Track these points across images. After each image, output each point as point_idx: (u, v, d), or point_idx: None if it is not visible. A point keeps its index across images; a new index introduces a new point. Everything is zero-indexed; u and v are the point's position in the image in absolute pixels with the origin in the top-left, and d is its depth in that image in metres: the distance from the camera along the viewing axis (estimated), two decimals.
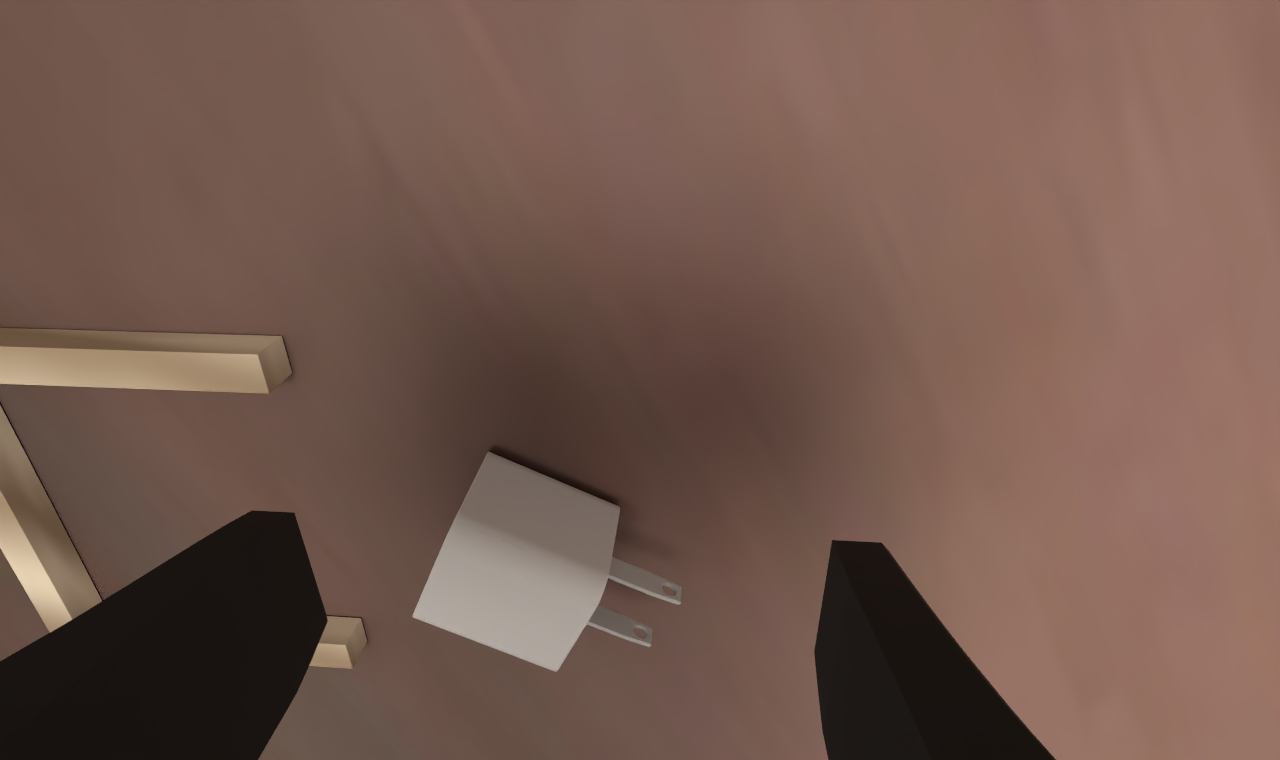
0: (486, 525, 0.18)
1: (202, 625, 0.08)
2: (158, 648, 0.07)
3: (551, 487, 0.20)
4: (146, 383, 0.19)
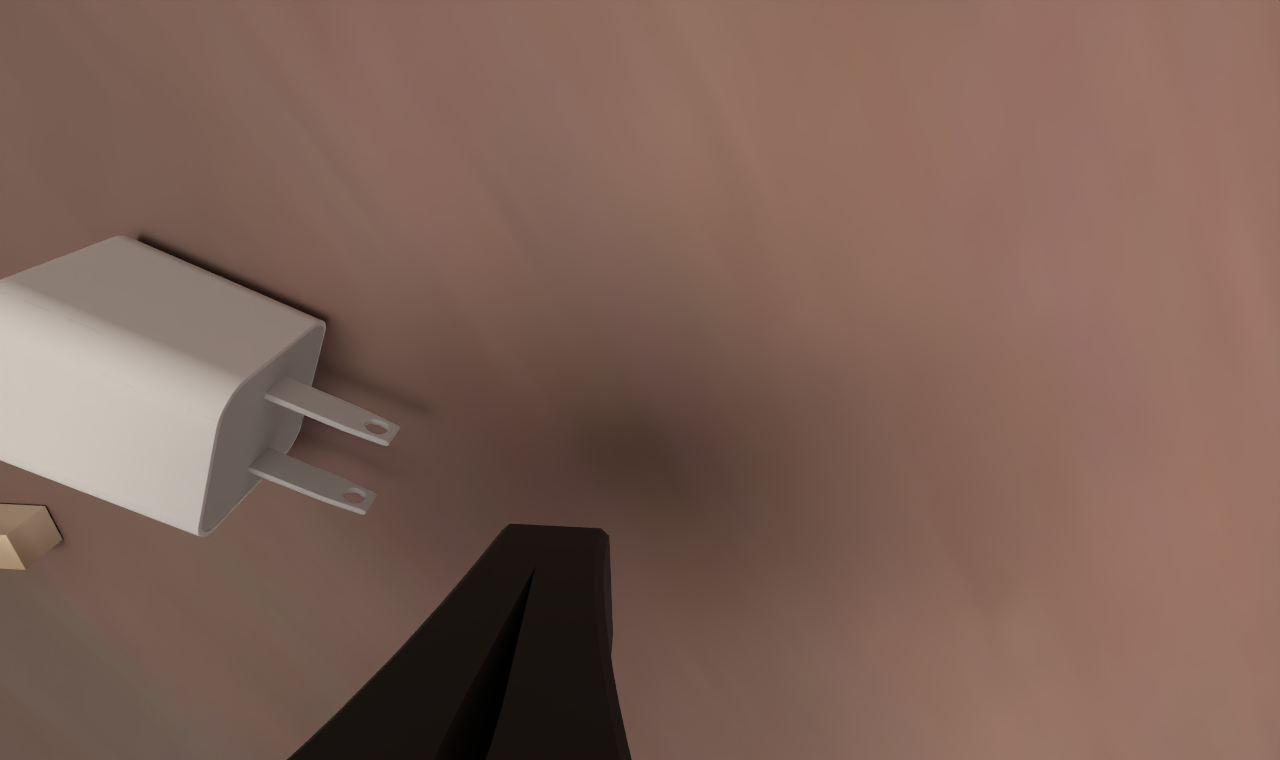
0: (50, 300, 0.12)
1: (514, 646, 0.07)
2: (495, 671, 0.07)
3: (210, 282, 0.14)
4: None
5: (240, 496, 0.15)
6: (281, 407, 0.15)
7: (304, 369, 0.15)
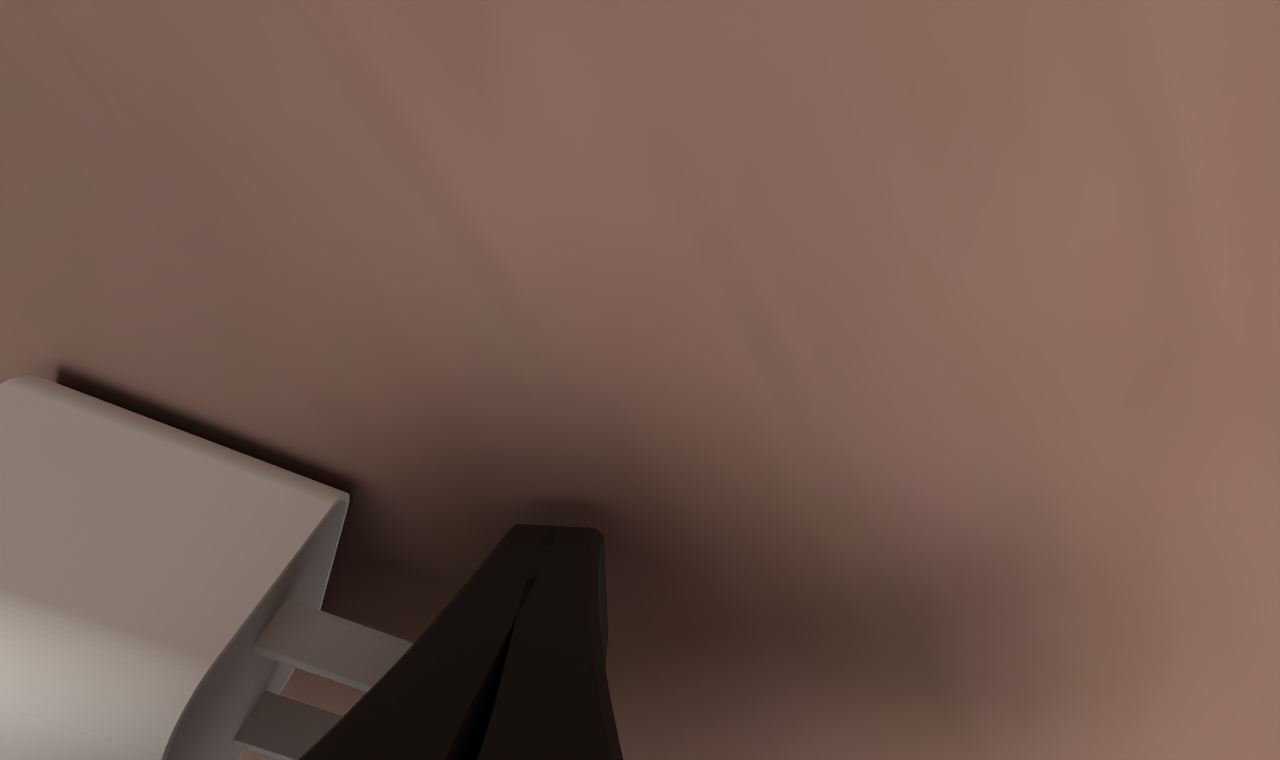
0: None
1: None
2: None
3: (161, 451, 0.09)
4: None
5: None
6: None
7: (317, 566, 0.10)
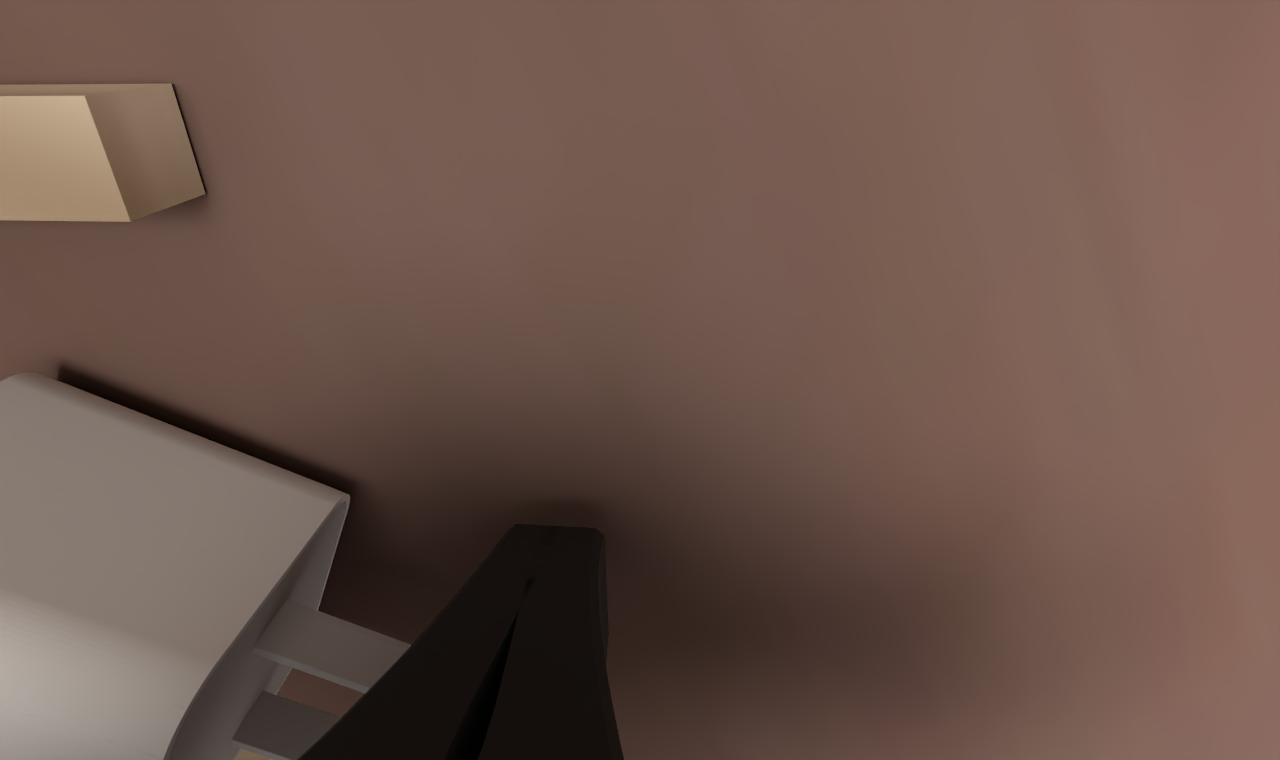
0: None
1: None
2: (504, 672, 0.07)
3: (163, 450, 0.09)
4: None
5: None
6: None
7: (317, 567, 0.10)
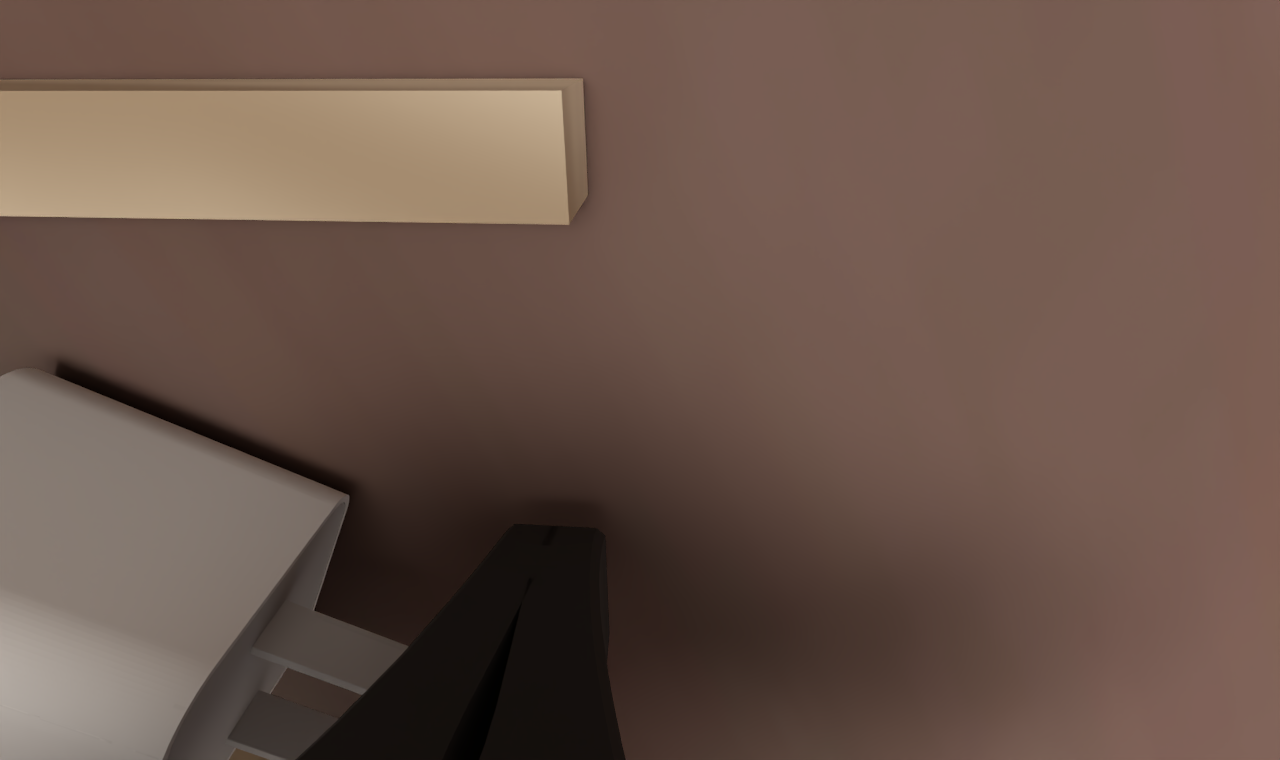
0: None
1: None
2: (502, 672, 0.07)
3: (163, 448, 0.09)
4: (215, 200, 0.07)
5: None
6: None
7: (315, 567, 0.10)
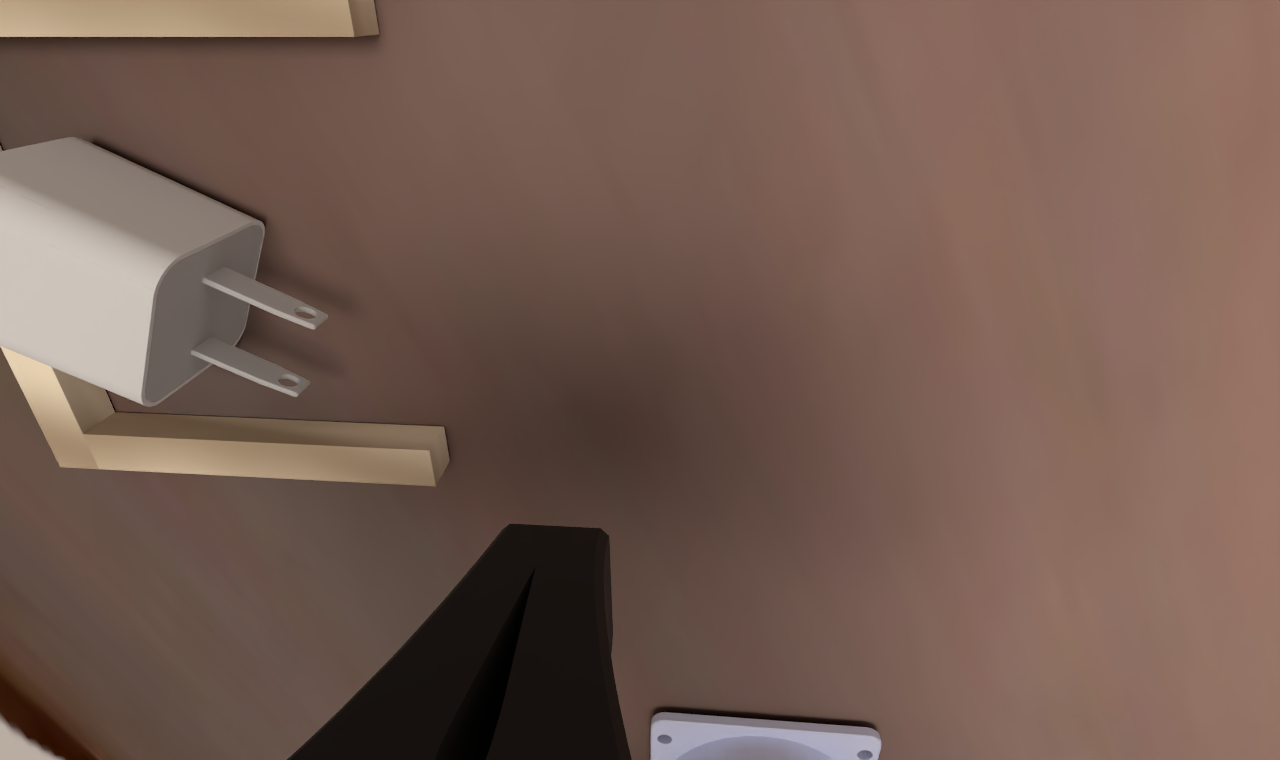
0: (5, 180, 0.14)
1: (514, 645, 0.07)
2: (496, 671, 0.07)
3: (156, 181, 0.16)
4: (184, 26, 0.14)
5: (184, 377, 0.17)
6: (222, 298, 0.17)
7: (244, 266, 0.17)
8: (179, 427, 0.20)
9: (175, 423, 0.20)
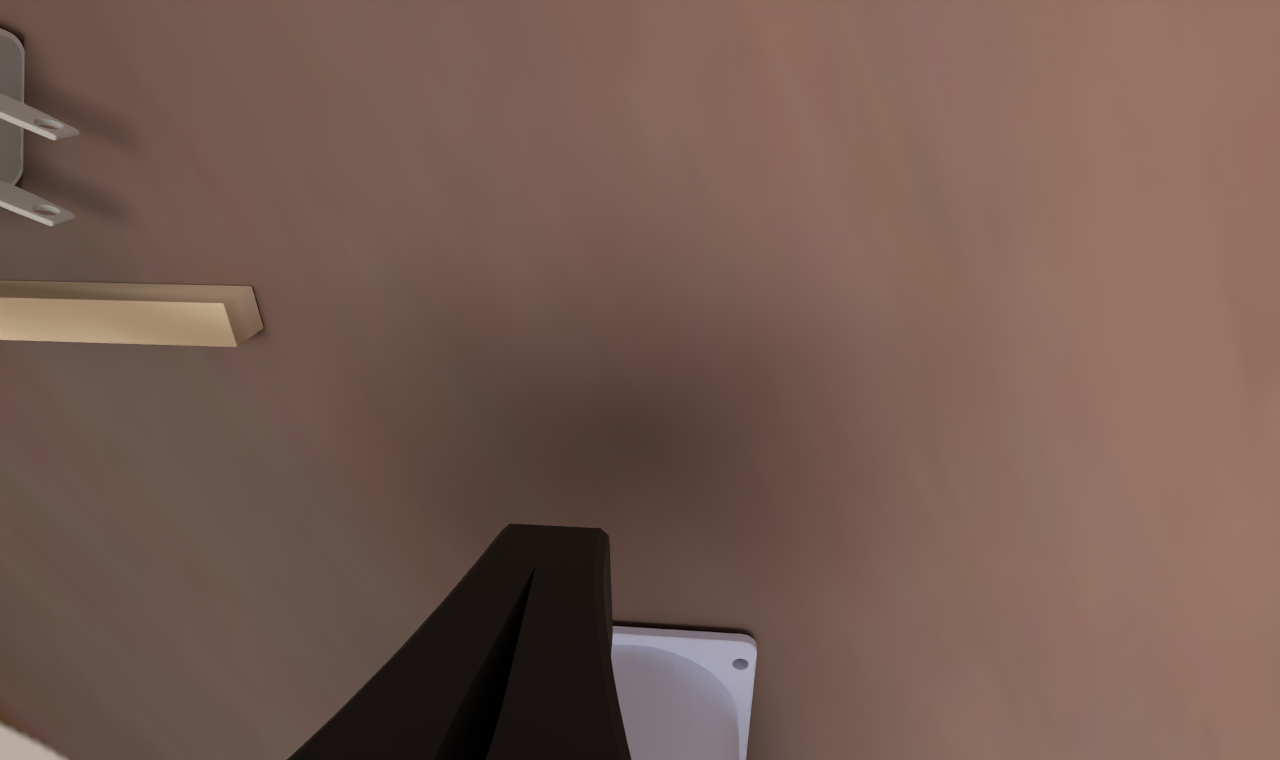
0: None
1: (514, 645, 0.07)
2: (496, 671, 0.07)
3: None
4: None
5: None
6: None
7: None
8: None
9: None
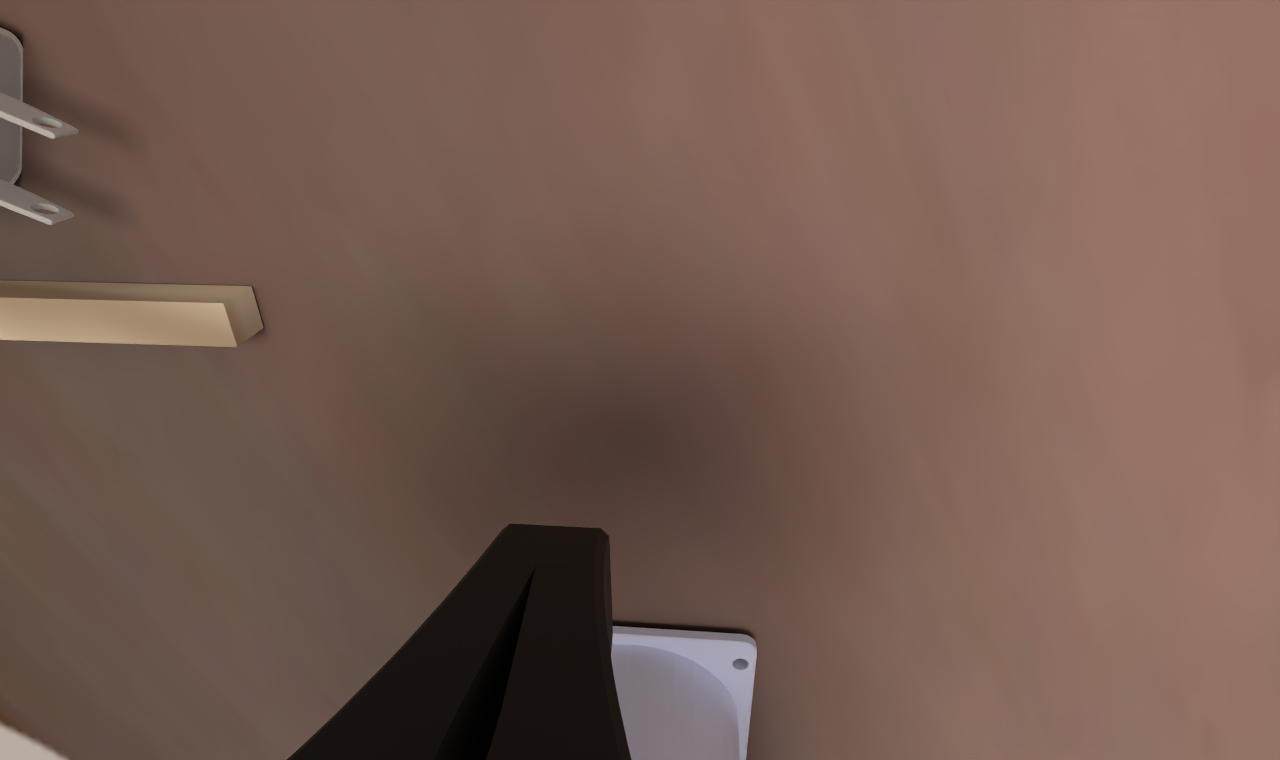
0: None
1: (514, 645, 0.07)
2: (496, 671, 0.07)
3: None
4: None
5: None
6: None
7: None
8: None
9: None
